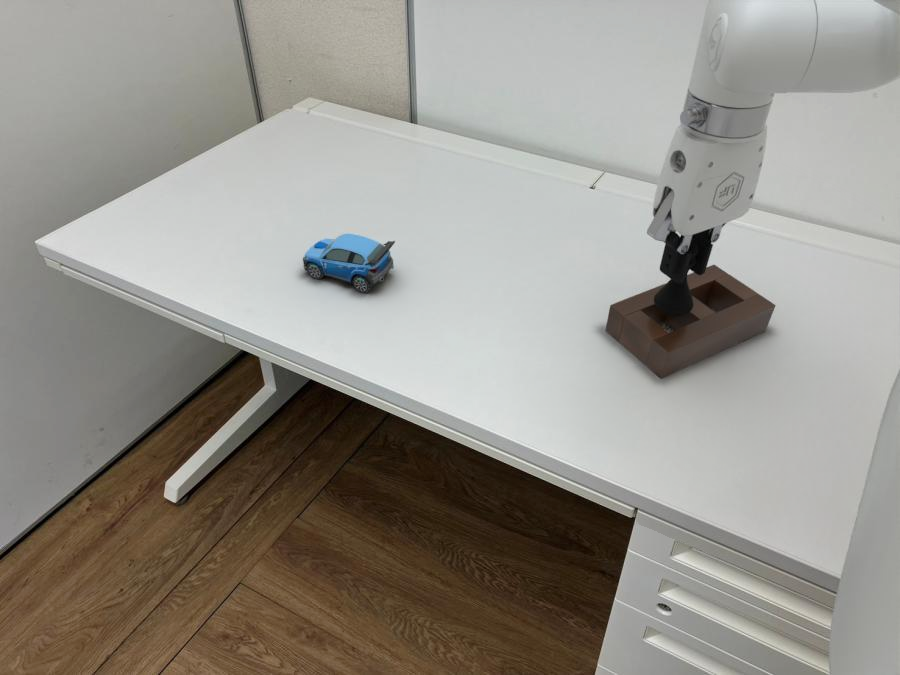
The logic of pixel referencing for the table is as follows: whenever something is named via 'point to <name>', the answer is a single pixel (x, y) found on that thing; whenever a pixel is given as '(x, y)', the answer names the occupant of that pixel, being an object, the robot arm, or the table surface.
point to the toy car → (350, 260)
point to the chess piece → (677, 290)
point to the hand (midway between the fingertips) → (681, 271)
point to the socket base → (690, 322)
